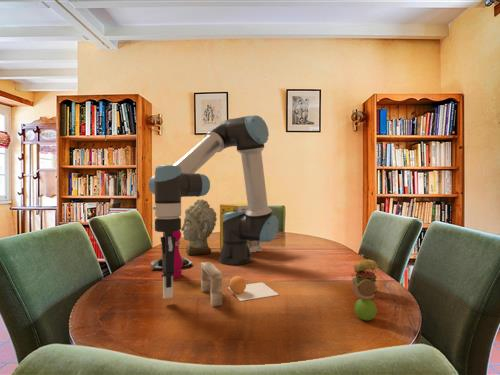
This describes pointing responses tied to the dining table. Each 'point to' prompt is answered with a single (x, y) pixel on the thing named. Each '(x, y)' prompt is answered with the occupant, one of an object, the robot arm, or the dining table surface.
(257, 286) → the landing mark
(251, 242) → the packaging box
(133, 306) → the dining table surface
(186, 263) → the salad plate
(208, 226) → the buddha head
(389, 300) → the dining table surface
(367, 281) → the snail figurine
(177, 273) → the pepper mill
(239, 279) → the ball
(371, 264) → the hamburger
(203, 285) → the bridge
